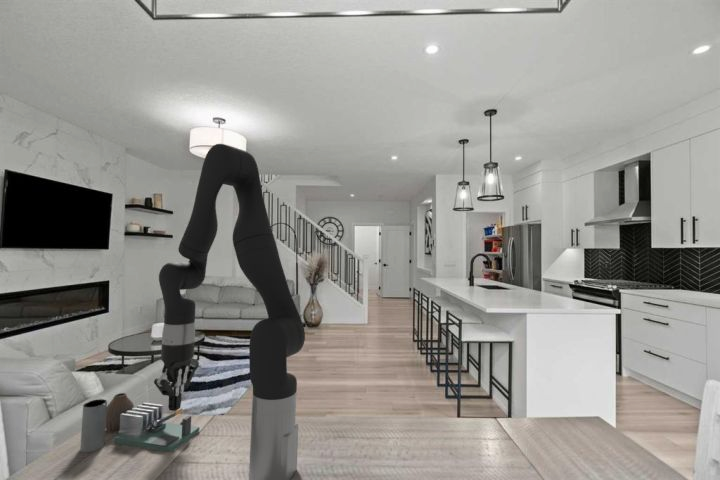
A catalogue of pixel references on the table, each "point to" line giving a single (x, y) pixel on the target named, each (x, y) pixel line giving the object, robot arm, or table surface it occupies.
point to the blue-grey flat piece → (165, 418)
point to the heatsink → (141, 420)
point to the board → (160, 438)
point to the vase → (117, 411)
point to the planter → (93, 425)
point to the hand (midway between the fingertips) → (174, 409)
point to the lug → (186, 425)
